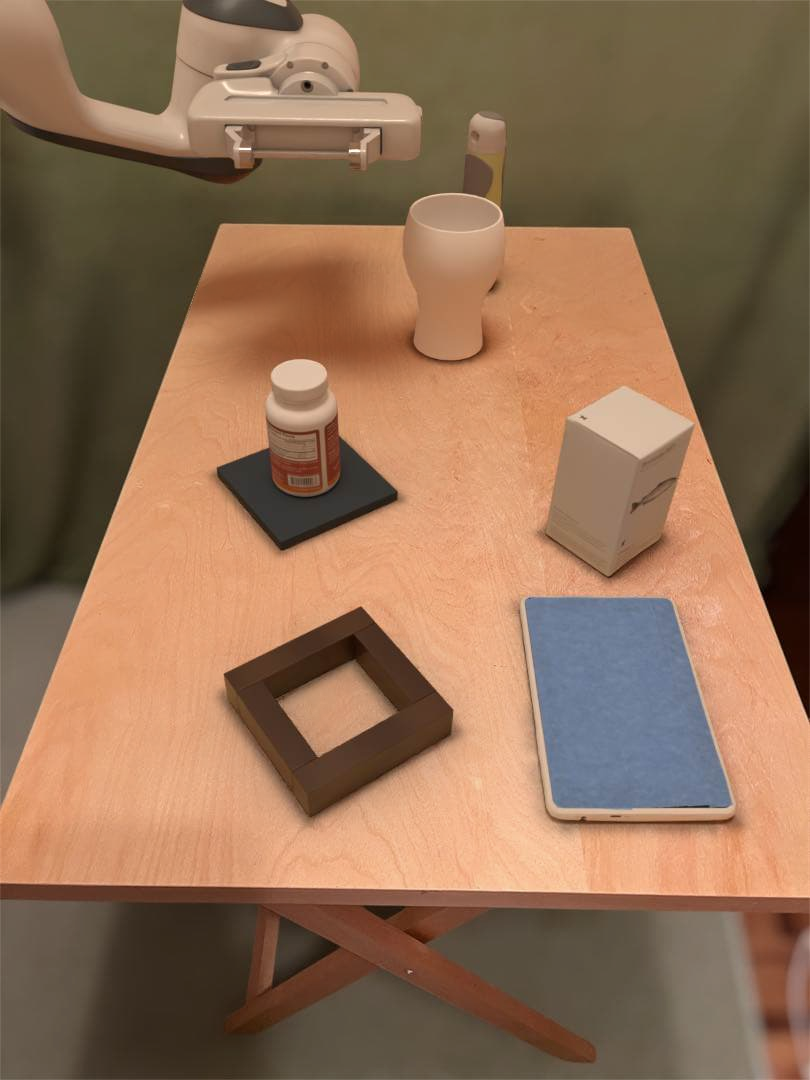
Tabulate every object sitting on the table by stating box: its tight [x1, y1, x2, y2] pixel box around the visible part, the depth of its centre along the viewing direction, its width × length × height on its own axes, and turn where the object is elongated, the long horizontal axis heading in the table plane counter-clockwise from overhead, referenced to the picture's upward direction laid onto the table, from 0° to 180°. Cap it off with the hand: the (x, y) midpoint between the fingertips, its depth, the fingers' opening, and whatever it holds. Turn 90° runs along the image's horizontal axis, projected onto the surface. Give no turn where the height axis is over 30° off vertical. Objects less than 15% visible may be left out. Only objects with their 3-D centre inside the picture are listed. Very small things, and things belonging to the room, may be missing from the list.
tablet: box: [518, 595, 737, 822], centre depth 66 cm, size 19×13×1 cm, turn 1°
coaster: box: [216, 435, 399, 551], centre depth 83 cm, size 12×12×1 cm
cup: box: [402, 192, 507, 361], centre depth 97 cm, size 11×11×15 cm
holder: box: [223, 605, 454, 818], centre depth 64 cm, size 12×12×3 cm
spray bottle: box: [462, 110, 508, 289], centre depth 105 cm, size 5×5×20 cm
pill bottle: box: [264, 358, 340, 497], centre depth 79 cm, size 6×6×11 cm
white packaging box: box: [544, 384, 696, 577], centre depth 75 cm, size 7×7×13 cm
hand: (300, 160), depth 75 cm, fingers open, 8 cm apart
